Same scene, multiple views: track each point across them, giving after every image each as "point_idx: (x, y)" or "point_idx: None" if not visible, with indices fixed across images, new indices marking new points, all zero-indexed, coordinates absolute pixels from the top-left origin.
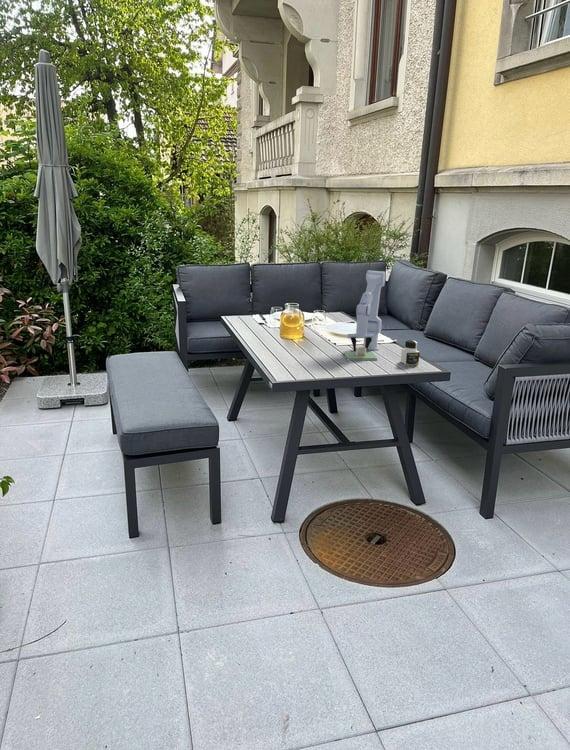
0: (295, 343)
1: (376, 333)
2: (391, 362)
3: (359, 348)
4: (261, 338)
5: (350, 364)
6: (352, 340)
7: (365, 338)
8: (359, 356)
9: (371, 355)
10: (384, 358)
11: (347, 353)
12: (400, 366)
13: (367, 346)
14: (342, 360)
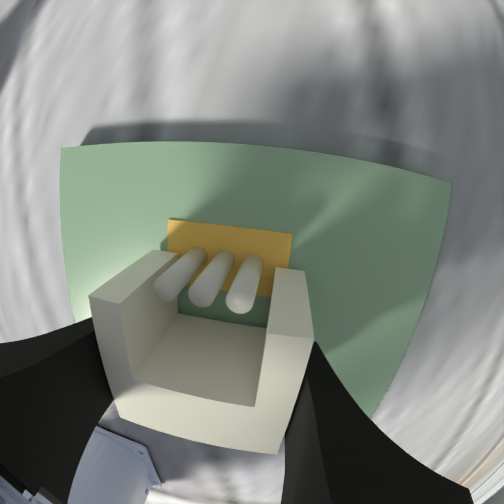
0: None
1: (40, 495)
2: (17, 101)
3: (213, 381)
4: (488, 488)
5: (431, 19)
6: (472, 502)
7: (63, 500)
8: (257, 230)
9: (93, 266)
10: (25, 221)
11: (361, 378)
12: (22, 23)
13: (60, 337)
14: (483, 179)
